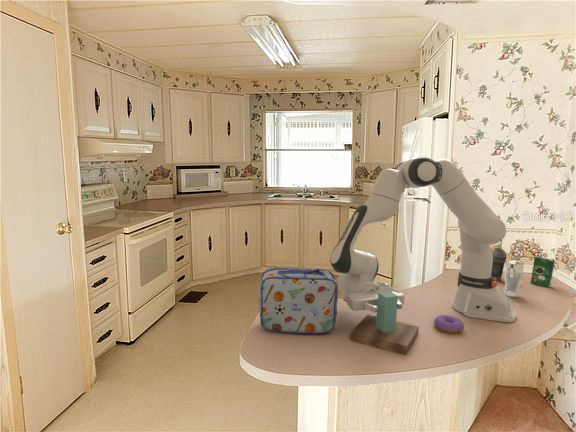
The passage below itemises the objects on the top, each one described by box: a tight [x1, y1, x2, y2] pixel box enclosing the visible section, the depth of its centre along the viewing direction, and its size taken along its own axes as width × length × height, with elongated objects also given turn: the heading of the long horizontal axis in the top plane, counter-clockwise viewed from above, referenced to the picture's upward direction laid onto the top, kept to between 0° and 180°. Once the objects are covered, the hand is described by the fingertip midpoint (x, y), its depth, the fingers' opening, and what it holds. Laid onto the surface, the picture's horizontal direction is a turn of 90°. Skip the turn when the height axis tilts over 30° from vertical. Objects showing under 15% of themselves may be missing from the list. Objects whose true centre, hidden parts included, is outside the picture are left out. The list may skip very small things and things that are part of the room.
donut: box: [433, 314, 465, 335], centre depth 141 cm, size 10×9×5 cm
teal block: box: [376, 291, 398, 333], centre depth 132 cm, size 4×4×12 cm
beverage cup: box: [491, 239, 507, 282], centre depth 196 cm, size 7×7×20 cm
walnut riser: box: [350, 314, 420, 356], centre depth 133 cm, size 18×16×3 cm
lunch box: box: [258, 267, 340, 335], centre depth 136 cm, size 28×10×22 cm, turn 91°
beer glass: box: [502, 259, 524, 299], centre depth 175 cm, size 7×7×15 cm
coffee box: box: [530, 256, 556, 288], centre depth 190 cm, size 8×3×13 cm, turn 43°
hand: (388, 308), depth 131 cm, fingers open, 8 cm apart
